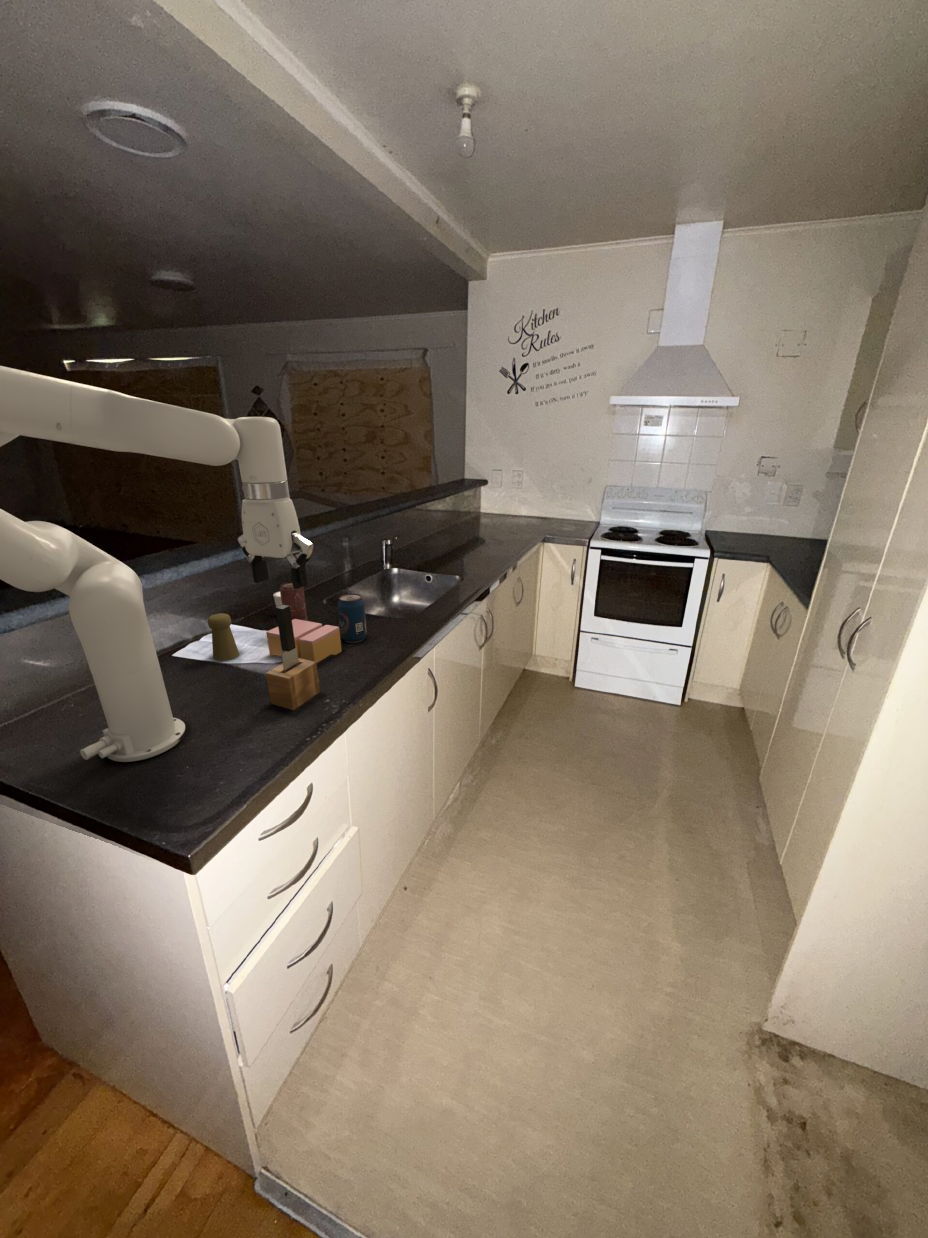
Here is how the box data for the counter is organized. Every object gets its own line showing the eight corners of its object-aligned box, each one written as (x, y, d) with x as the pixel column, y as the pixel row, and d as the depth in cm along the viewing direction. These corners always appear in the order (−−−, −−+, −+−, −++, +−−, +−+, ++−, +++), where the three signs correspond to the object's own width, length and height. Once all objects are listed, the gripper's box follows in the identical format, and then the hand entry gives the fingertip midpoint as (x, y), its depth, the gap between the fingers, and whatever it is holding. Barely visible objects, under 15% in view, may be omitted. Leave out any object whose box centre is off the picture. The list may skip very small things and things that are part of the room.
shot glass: (294, 609, 154) (291, 588, 151) (303, 615, 149) (300, 593, 146) (273, 614, 150) (269, 592, 147) (281, 620, 145) (277, 598, 142)
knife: (292, 702, 99) (278, 610, 91) (285, 701, 99) (271, 609, 92) (306, 693, 102) (293, 604, 95) (299, 692, 103) (286, 603, 95)
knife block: (294, 714, 96) (288, 678, 94) (271, 707, 99) (265, 672, 96) (320, 695, 103) (316, 661, 100) (298, 689, 106) (294, 656, 103)
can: (312, 627, 140) (306, 580, 134) (303, 635, 134) (297, 587, 129) (292, 626, 140) (285, 580, 135) (282, 635, 134) (275, 586, 129)
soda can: (336, 638, 132) (332, 596, 128) (359, 631, 136) (355, 591, 132) (349, 646, 127) (344, 603, 123) (372, 639, 131) (368, 597, 127)
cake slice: (315, 667, 116) (312, 641, 113) (302, 664, 117) (298, 638, 115) (341, 651, 124) (339, 626, 122) (329, 648, 126) (326, 624, 123)
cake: (297, 663, 118) (294, 637, 115) (270, 657, 121) (265, 631, 119) (324, 647, 126) (322, 623, 124) (298, 642, 130) (294, 618, 127)
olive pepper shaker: (207, 659, 120) (198, 618, 116) (224, 649, 125) (216, 609, 121) (228, 662, 118) (220, 620, 114) (244, 652, 124) (237, 611, 120)
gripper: (214, 492, 86) (231, 584, 92) (289, 496, 80) (302, 595, 86) (247, 487, 93) (261, 574, 99) (319, 491, 86) (329, 583, 92)
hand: (280, 583), depth 92 cm, fingers open, 9 cm apart
